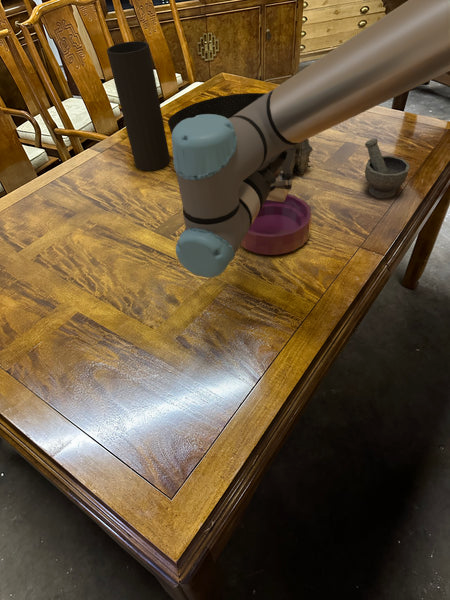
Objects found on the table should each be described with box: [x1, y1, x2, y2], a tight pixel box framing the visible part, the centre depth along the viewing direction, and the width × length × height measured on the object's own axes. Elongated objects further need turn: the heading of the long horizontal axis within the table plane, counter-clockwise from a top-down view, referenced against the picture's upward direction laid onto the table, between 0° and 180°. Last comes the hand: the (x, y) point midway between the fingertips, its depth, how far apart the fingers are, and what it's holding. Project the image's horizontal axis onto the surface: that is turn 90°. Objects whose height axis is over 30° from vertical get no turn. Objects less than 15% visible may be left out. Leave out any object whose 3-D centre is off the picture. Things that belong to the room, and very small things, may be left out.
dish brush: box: [266, 167, 291, 202], centre depth 77 cm, size 6×5×16 cm
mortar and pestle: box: [364, 138, 411, 199], centre depth 98 cm, size 11×9×12 cm
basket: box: [167, 92, 314, 175], centre depth 108 cm, size 28×35×16 cm
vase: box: [106, 40, 171, 172], centre depth 112 cm, size 10×10×30 cm
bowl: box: [240, 193, 313, 256], centre depth 92 cm, size 17×17×6 cm
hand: (280, 134), depth 80 cm, fingers closed on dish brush, 2 cm apart
